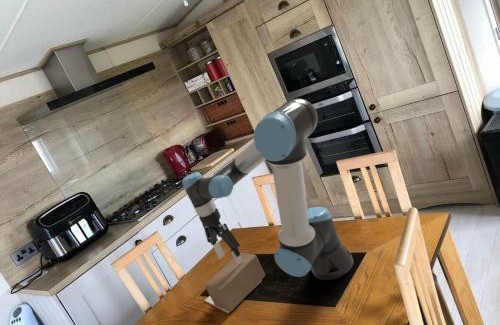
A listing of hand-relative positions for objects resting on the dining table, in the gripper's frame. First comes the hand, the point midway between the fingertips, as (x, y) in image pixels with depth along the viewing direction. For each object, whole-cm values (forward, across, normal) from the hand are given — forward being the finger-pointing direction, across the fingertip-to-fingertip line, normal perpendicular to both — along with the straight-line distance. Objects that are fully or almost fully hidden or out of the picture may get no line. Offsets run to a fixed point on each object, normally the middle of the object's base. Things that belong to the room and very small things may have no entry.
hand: (231, 259), depth 144 cm
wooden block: (+6, -3, -6) cm, 9 cm away
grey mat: (+11, 0, +5) cm, 12 cm away
